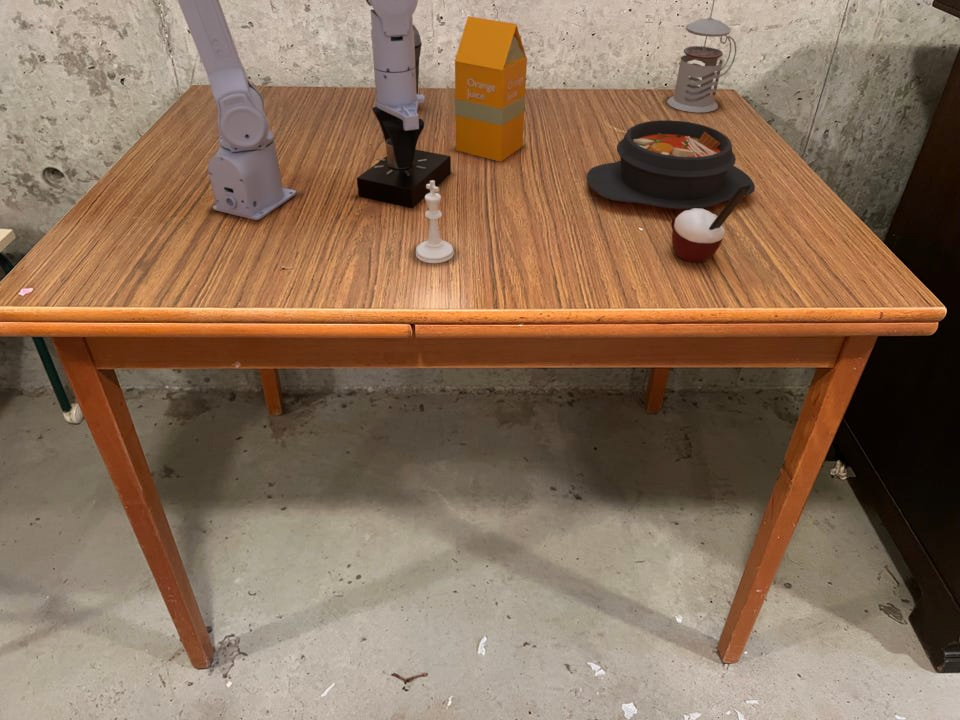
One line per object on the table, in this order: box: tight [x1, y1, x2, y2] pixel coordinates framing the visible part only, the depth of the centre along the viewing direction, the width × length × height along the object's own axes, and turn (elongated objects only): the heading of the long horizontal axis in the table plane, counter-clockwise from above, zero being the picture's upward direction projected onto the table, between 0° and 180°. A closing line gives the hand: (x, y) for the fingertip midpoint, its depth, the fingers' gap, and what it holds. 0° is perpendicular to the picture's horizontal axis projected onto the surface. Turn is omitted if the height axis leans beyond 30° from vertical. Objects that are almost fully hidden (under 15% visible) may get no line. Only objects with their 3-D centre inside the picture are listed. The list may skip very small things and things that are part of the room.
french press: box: [666, 0, 737, 113], centre depth 127 cm, size 10×12×25 cm
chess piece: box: [415, 180, 455, 264], centre depth 86 cm, size 5×5×10 cm
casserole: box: [586, 119, 756, 210], centre depth 101 cm, size 25×19×8 cm
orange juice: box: [454, 15, 528, 163], centre depth 110 cm, size 8×9×20 cm
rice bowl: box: [670, 185, 751, 263], centre depth 85 cm, size 10×6×12 cm, turn 6°
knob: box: [385, 138, 414, 169], centre depth 102 cm, size 4×4×4 cm
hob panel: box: [356, 148, 452, 209], centre depth 104 cm, size 13×10×3 cm
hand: (400, 161), depth 103 cm, fingers closed on knob, 4 cm apart
